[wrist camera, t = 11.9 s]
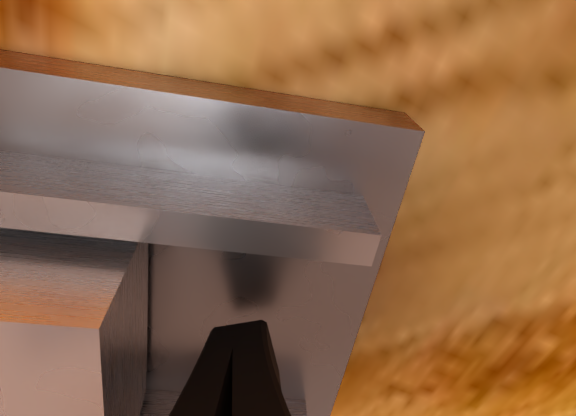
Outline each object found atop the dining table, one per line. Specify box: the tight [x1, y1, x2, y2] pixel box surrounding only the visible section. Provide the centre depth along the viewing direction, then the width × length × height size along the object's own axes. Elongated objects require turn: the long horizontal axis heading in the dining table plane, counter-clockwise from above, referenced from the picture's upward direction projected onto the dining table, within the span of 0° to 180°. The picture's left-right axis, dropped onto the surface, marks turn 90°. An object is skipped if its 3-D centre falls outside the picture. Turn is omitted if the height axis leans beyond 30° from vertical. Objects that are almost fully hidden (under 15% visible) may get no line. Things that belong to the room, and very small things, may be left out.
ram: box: [0, 228, 148, 416], centre depth 9 cm, size 5×6×4 cm
